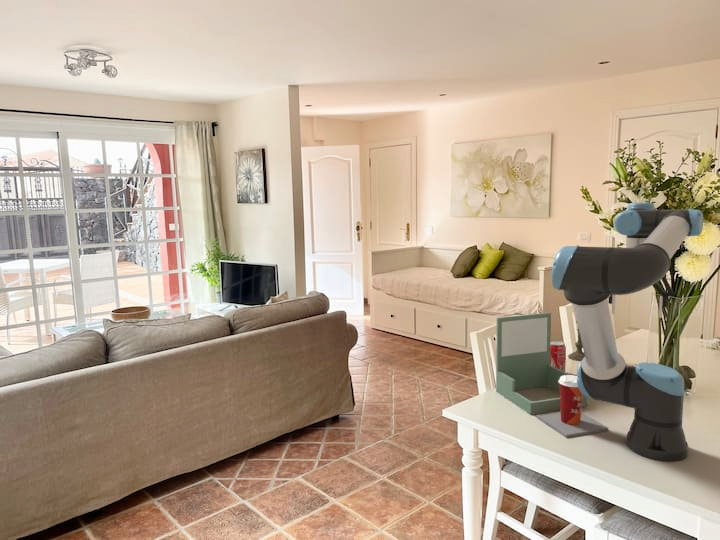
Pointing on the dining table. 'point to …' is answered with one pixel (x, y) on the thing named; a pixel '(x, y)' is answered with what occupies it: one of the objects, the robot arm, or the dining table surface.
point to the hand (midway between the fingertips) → (636, 315)
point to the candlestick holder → (579, 353)
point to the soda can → (558, 355)
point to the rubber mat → (584, 427)
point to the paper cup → (570, 400)
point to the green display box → (526, 361)
